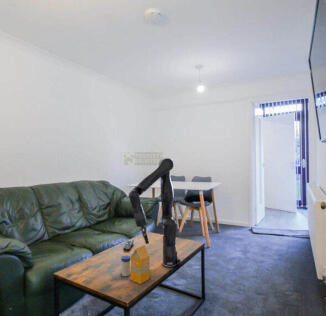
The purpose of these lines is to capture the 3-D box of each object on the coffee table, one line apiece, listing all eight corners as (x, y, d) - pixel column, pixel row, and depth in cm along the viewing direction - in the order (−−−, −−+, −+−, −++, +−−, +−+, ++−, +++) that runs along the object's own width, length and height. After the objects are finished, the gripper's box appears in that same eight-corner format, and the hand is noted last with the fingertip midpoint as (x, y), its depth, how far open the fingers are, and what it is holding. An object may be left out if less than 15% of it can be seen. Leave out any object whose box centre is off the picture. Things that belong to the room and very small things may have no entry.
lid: (128, 257, 162) (128, 254, 162) (131, 261, 157) (131, 258, 157) (120, 259, 160) (120, 256, 160) (122, 262, 155) (122, 259, 155)
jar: (128, 271, 162) (128, 255, 162) (131, 275, 157) (131, 258, 157) (120, 273, 160) (120, 257, 160) (123, 276, 155) (123, 260, 155)
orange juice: (131, 280, 150) (130, 247, 151) (140, 275, 157) (139, 243, 158) (140, 284, 146) (140, 250, 146) (149, 278, 152) (149, 246, 153)
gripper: (146, 218, 160) (153, 242, 158) (145, 215, 174) (151, 238, 172) (135, 221, 159) (142, 246, 158) (135, 218, 173) (141, 241, 172)
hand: (147, 242), depth 165 cm, fingers open, 8 cm apart
